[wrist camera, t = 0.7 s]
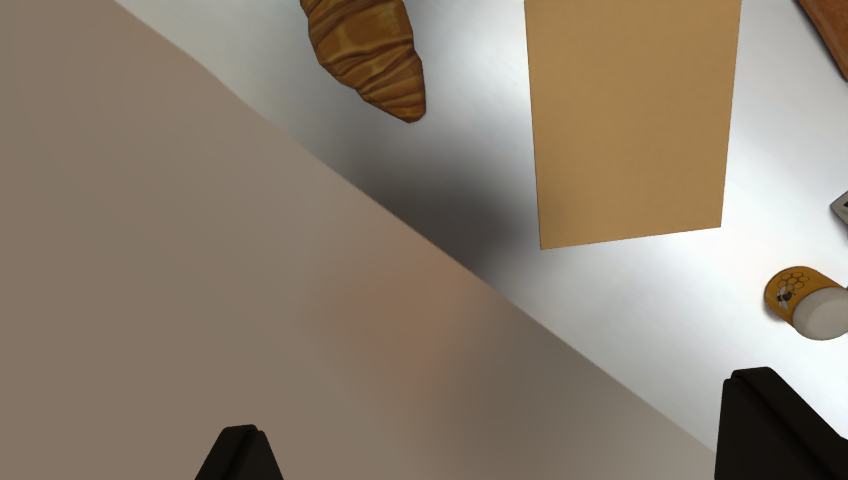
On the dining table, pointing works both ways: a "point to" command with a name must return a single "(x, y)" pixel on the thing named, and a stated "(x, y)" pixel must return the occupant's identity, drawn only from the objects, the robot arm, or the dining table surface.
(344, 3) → the croissant
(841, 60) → the bread
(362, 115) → the dining table surface
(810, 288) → the toy food
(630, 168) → the place mat
